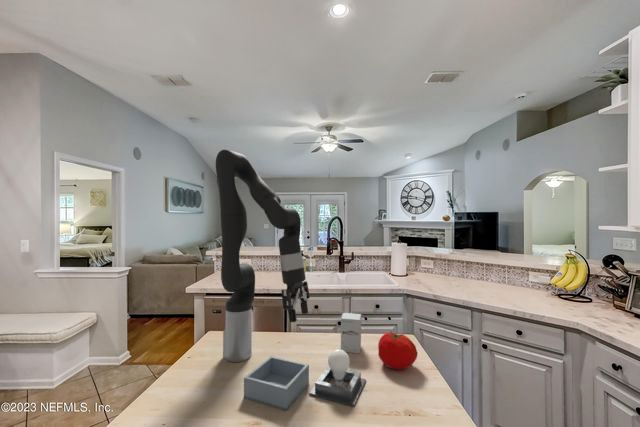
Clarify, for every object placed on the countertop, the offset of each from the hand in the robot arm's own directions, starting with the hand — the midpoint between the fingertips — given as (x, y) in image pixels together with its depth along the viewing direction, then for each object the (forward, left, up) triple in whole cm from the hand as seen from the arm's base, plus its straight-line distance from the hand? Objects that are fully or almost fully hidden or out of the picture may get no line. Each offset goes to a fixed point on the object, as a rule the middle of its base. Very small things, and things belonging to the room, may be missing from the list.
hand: (299, 317), depth 91 cm
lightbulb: (+14, -2, -18) cm, 23 cm away
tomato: (+28, +18, -18) cm, 38 cm away
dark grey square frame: (+14, -2, -18) cm, 23 cm away
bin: (-2, -10, -18) cm, 21 cm away
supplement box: (+10, +24, -18) cm, 32 cm away
